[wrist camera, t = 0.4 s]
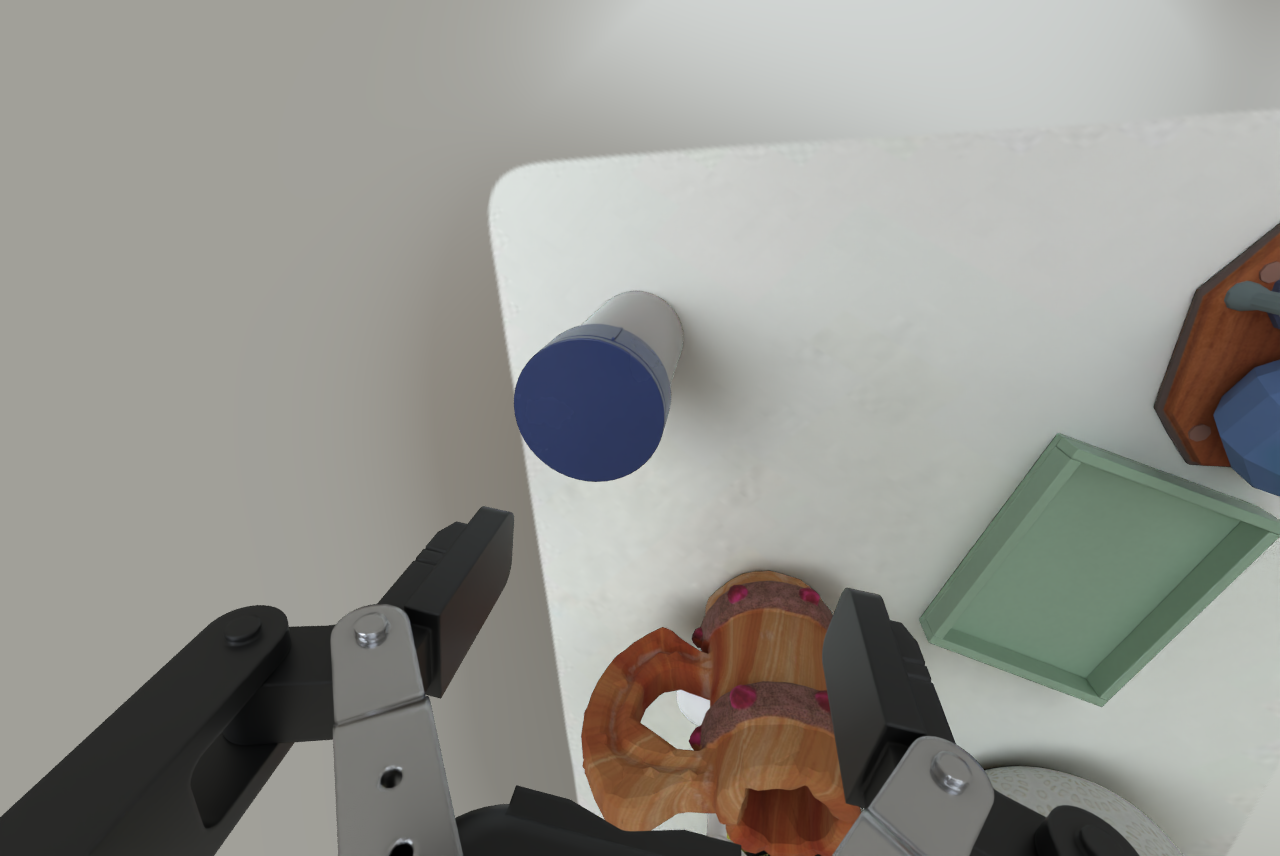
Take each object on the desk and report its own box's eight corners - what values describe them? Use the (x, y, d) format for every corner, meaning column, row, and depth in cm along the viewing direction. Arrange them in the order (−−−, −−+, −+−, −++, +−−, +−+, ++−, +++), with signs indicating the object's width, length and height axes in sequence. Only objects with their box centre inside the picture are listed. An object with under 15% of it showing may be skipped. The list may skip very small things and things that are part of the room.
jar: (607, 277, 30) (543, 323, 20) (697, 310, 30) (677, 372, 20) (582, 363, 33) (513, 442, 23) (665, 394, 32) (633, 487, 23)
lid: (552, 300, 22) (533, 312, 20) (692, 351, 22) (687, 369, 20) (520, 428, 24) (499, 451, 22) (645, 475, 24) (636, 502, 22)
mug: (849, 558, 35) (919, 798, 21) (835, 656, 38) (889, 919, 25) (619, 543, 37) (550, 750, 24) (625, 637, 40) (567, 866, 27)
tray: (1057, 432, 30) (1078, 448, 28) (1257, 505, 30) (1291, 526, 28) (918, 619, 36) (928, 642, 34) (1083, 681, 36) (1102, 707, 34)
